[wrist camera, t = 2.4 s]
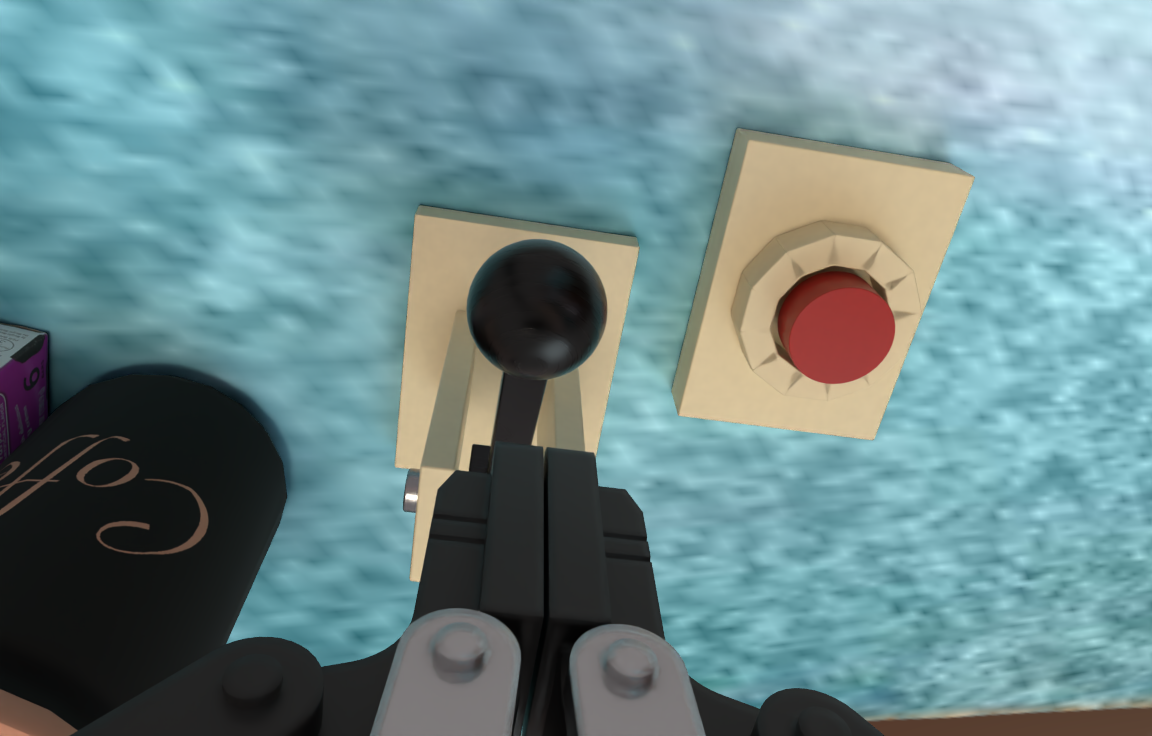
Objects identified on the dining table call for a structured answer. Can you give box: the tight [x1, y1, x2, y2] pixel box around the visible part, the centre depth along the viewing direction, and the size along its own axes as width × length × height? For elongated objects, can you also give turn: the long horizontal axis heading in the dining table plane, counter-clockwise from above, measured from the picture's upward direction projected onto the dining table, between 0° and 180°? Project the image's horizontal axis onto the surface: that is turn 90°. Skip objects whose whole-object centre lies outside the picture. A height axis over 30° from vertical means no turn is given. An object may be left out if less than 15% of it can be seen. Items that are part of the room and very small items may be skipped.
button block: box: [672, 128, 975, 440], centre depth 34 cm, size 12×9×4 cm
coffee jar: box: [0, 374, 287, 736], centre depth 31 cm, size 11×11×18 cm
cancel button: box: [777, 271, 895, 384], centre depth 32 cm, size 4×4×2 cm
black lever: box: [466, 239, 608, 474], centre depth 23 cm, size 13×3×3 cm, turn 170°
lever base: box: [395, 205, 639, 582], centre depth 31 cm, size 12×9×13 cm
